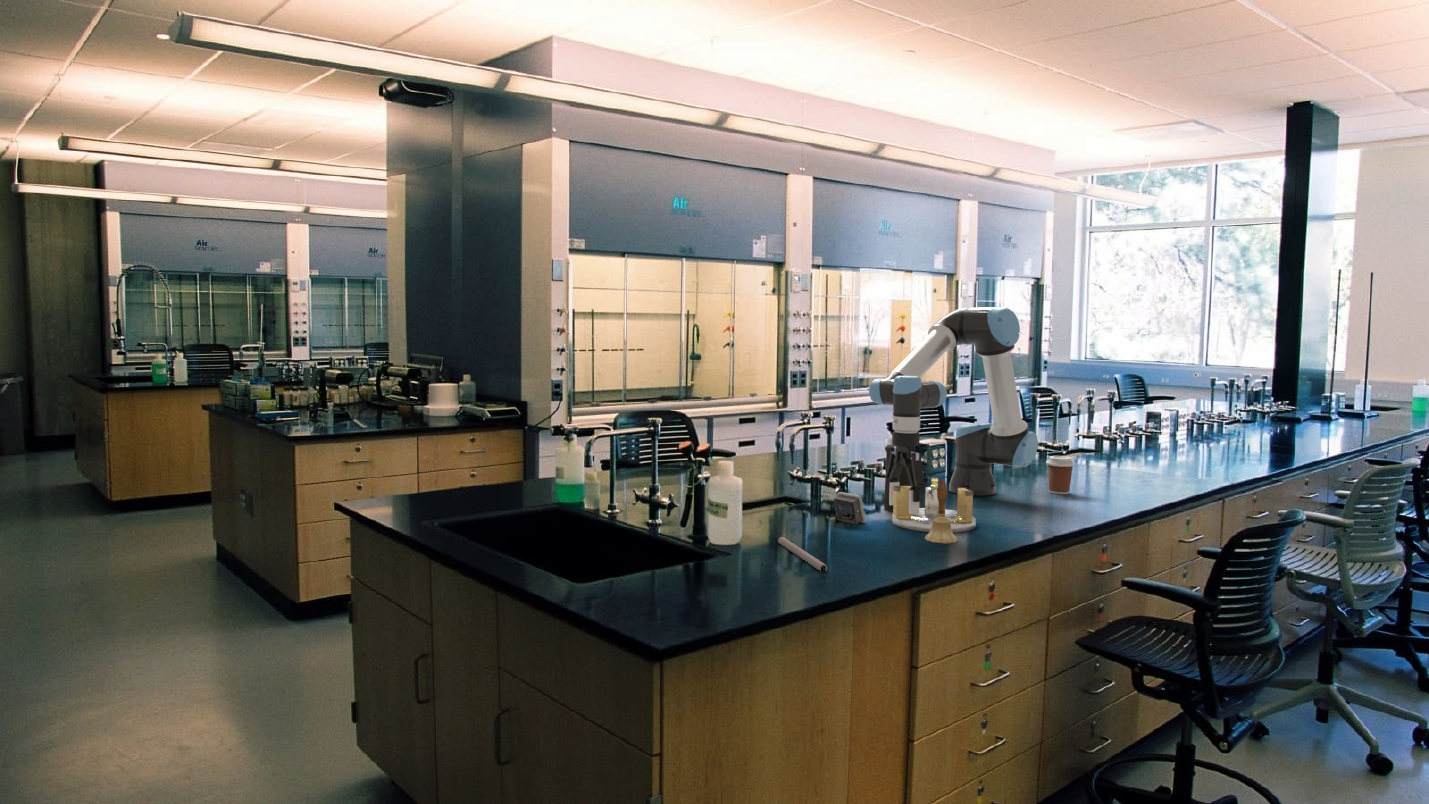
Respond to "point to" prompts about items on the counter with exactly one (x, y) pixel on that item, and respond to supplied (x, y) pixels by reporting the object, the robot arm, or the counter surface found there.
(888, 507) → the container
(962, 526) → the levelling plate
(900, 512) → the tan upright block
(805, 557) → the grey tube
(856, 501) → the electrical switch
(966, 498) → the tan upright block
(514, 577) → the counter surface
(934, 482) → the brass knob
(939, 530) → the hand bell
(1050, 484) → the coffee cup
